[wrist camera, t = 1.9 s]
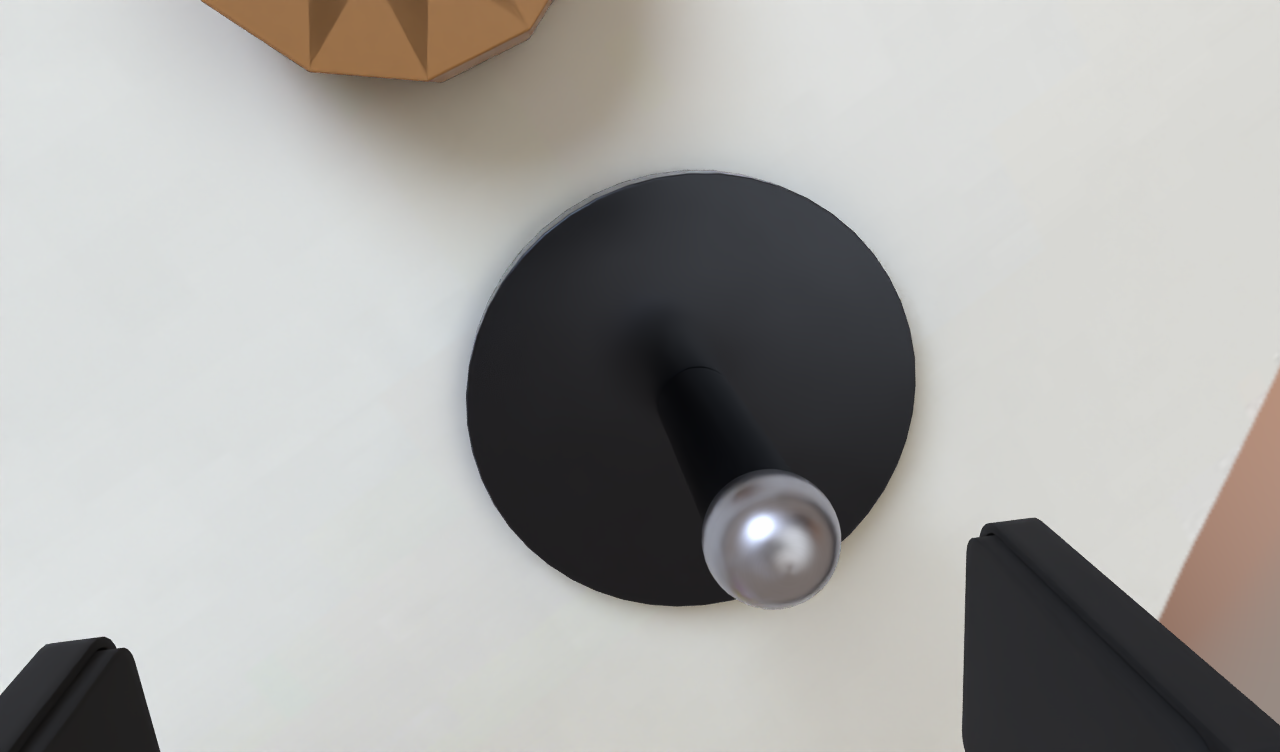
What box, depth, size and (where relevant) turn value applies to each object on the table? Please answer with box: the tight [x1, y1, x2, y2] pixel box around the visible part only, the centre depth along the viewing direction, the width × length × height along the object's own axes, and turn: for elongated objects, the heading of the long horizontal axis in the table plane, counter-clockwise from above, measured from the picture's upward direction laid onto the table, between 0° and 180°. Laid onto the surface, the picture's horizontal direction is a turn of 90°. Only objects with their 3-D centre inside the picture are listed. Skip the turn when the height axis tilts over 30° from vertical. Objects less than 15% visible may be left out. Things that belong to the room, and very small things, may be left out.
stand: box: [466, 170, 915, 610], centre depth 26 cm, size 15×15×13 cm
